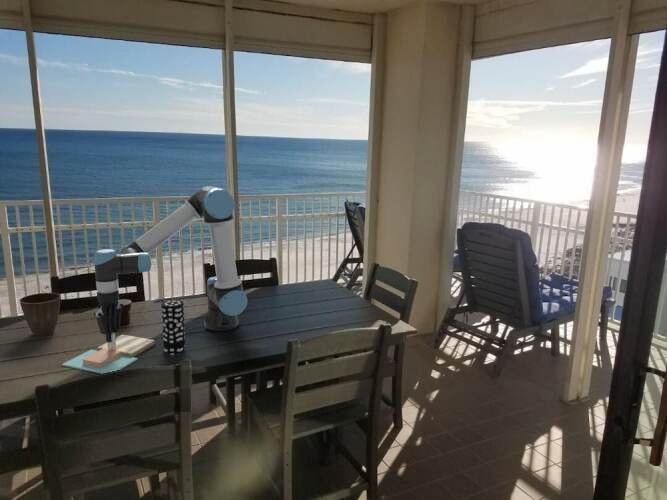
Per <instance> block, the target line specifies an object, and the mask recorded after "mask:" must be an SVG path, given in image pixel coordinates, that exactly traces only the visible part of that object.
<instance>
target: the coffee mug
mask: <svg viewBox="0 0 667 500" xmlns="http://www.w3.org/2000/svg"><path fill="white" fill-rule="evenodd" d="M118 302H119V303H120V304H123V308H122V314H121V323H120V327H125V326H127V325H129V324H131V311H132V301H131V300H130V299H119V300H118Z"/></svg>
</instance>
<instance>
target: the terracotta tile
mask: <svg viewBox="0 0 667 500" xmlns="http://www.w3.org/2000/svg"><path fill="white" fill-rule="evenodd" d="M121 356H122V351H119V350H110V349H108V348H104V349H102V350H100V351H98V352H96V353H94V354H92V355H90V356H88V357H86V358H84V359H82V360H83V364H84V365H89V366H93V367H98V368H101V367H103V366H105V365H106V364H108V363H110V362H112V361H114V360H115V359H117V358H119V357H121Z"/></svg>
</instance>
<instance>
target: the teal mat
mask: <svg viewBox="0 0 667 500" xmlns="http://www.w3.org/2000/svg"><path fill="white" fill-rule="evenodd" d="M96 352H98V351H97V349H90V350H88V351H86V352H84V353H82V354H79V355H77V356H75V357H73V358H72V359H69V360H68V361H65V362H64V363H62V364H61V365H62V366H63V367H67V368H71V369H77V370H81V371H86V372H92V373H97V374H101V375H104V374H103V373H107V372H112V371H117V370H119V371H121V370H122V369H124V368H126V367H128V366H129V365H131V364H133V363H134V362H136V361H138V359H139V358H137V357H135V356H134V357H129V356H124V355H122V356H121V357H119V358H117V359H115V360H114V361H112V362H110V363H108V364H106V365H105V366H103V367H101V368H98V367H93V366H89V365H84V364H83V360H82V359H84V358H86V357H88V356H90V355H92V354H94V353H96Z"/></svg>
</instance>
